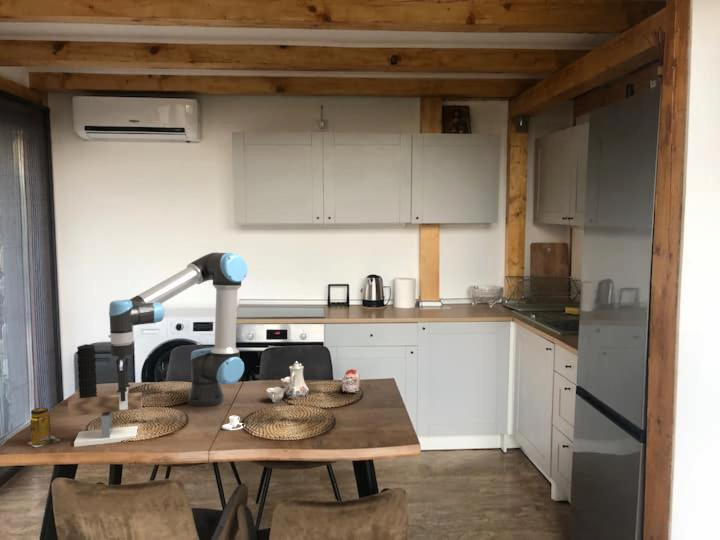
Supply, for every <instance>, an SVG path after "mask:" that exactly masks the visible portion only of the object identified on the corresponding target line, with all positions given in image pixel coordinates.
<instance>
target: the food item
mask: <svg viewBox="0 0 720 540" xmlns="http://www.w3.org/2000/svg"><path fill="white" fill-rule="evenodd" d="M360 381H361V380H360V371H359V370H357V369H354V368H351V369H345V373H344V375H343V376H342V377H341V387H342V388H341V389H342V392H344V391H348V392H355V391H359V388H360Z"/></svg>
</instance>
